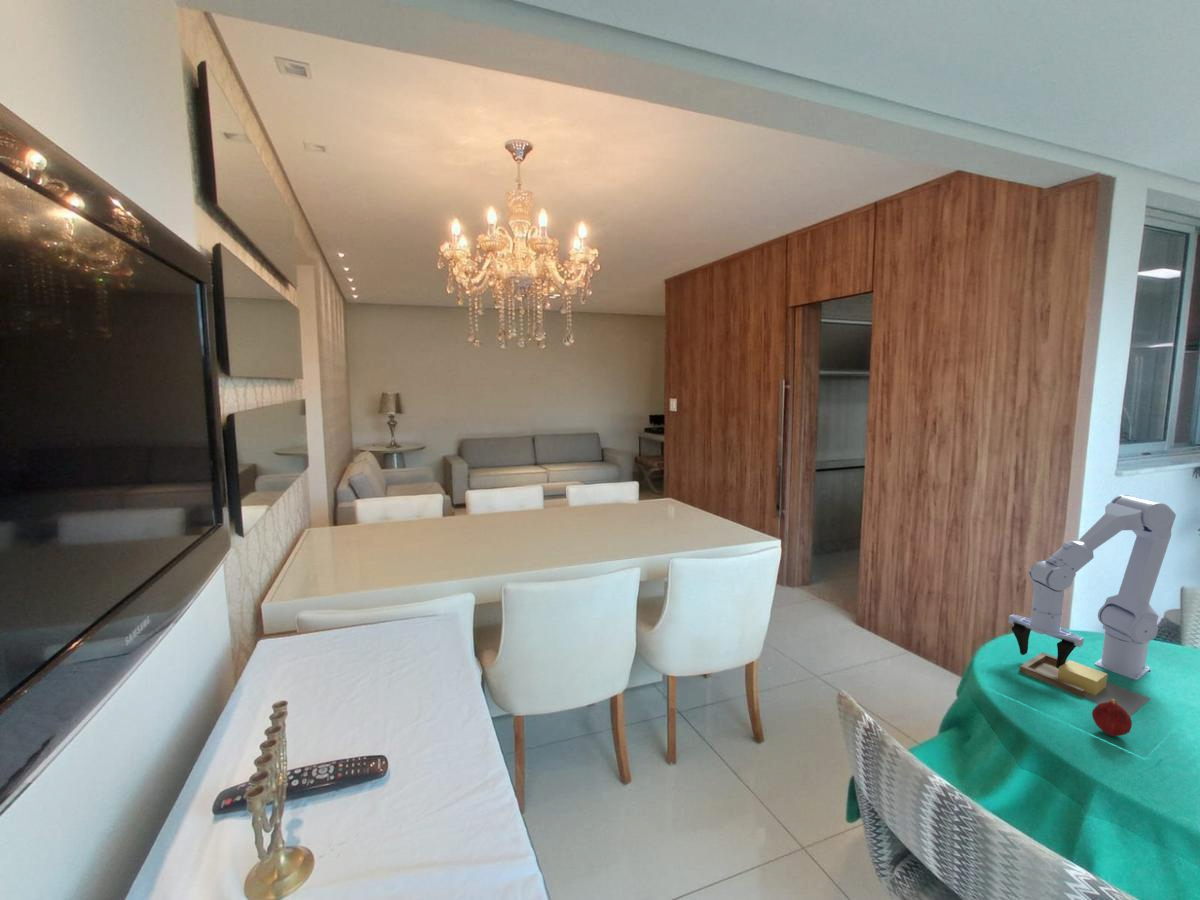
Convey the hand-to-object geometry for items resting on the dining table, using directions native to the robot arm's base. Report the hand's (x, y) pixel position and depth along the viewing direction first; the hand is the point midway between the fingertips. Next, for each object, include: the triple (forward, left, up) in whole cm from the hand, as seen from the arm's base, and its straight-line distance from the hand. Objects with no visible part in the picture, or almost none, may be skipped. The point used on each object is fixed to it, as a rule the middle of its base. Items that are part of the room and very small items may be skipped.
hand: (1041, 660), depth 131 cm
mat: (0, +14, -2) cm, 14 cm away
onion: (+17, +18, -3) cm, 25 cm away
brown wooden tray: (0, +4, -2) cm, 5 cm away
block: (0, +8, -2) cm, 8 cm away
